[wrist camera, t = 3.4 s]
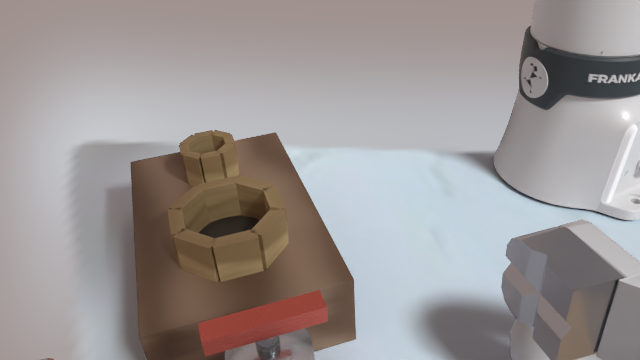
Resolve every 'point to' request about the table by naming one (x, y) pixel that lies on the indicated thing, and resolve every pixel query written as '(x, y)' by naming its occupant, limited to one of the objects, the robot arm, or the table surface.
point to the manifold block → (229, 243)
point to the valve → (266, 330)
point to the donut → (529, 344)
